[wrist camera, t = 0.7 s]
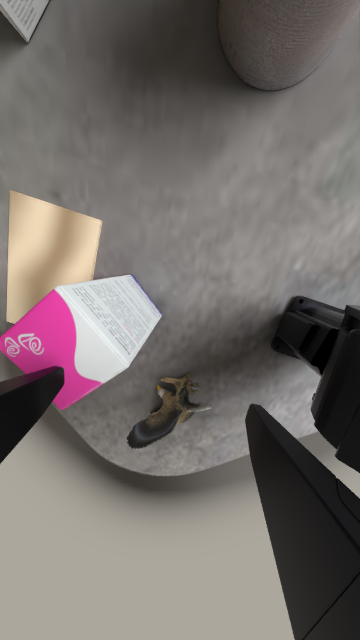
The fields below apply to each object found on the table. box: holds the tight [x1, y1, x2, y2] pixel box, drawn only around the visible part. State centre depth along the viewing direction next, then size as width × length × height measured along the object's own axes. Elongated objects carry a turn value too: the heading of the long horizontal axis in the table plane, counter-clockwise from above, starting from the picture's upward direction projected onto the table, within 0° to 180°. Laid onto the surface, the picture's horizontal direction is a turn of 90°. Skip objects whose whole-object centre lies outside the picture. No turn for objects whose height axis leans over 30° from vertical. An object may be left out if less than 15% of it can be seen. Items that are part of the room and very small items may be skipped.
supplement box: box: [0, 275, 163, 410], centre depth 16 cm, size 6×6×12 cm
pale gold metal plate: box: [7, 190, 102, 324], centre depth 20 cm, size 9×14×1 cm, turn 162°
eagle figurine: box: [127, 373, 212, 449], centre depth 22 cm, size 8×7×9 cm
